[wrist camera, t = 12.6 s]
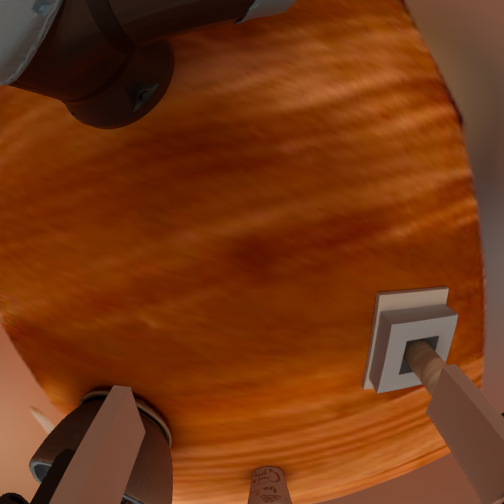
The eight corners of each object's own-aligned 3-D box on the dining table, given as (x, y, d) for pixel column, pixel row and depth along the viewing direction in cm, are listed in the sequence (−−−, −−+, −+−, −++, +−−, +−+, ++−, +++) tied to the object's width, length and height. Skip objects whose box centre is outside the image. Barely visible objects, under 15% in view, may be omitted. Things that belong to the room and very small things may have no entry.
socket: (376, 292, 38) (391, 307, 33) (445, 286, 38) (463, 298, 33) (361, 385, 42) (371, 405, 37) (424, 373, 42) (437, 390, 37)
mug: (292, 463, 46) (298, 503, 37) (280, 492, 49) (284, 527, 40) (249, 462, 46) (249, 503, 36) (242, 491, 49) (242, 527, 39)
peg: (398, 332, 38) (455, 399, 23) (421, 328, 38) (480, 390, 23) (393, 355, 39) (443, 425, 24) (415, 351, 39) (468, 415, 24)
